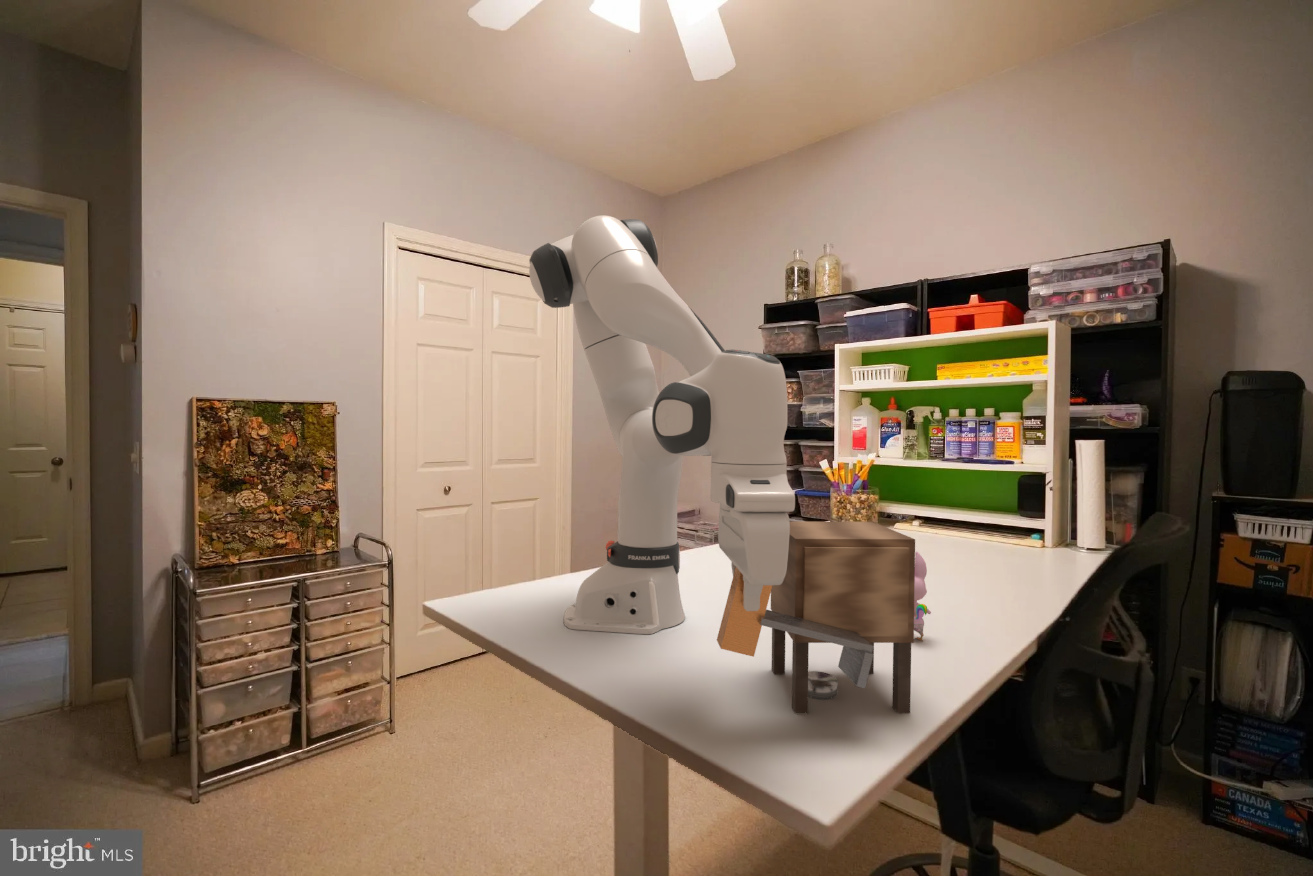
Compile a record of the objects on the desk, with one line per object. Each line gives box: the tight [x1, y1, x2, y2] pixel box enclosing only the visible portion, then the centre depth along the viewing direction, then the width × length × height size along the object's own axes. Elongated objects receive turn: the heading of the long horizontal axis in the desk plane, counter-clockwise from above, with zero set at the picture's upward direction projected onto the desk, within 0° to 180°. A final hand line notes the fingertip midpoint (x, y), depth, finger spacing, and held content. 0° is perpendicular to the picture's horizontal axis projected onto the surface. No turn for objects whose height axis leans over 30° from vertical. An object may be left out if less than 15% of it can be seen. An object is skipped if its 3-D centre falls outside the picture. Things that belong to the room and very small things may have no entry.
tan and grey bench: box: [716, 567, 875, 689], centre depth 72 cm, size 17×6×11 cm, turn 93°
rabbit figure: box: [914, 551, 932, 642], centre depth 101 cm, size 6×6×15 cm
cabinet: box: [770, 520, 916, 714], centre depth 82 cm, size 15×15×22 cm
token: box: [808, 670, 839, 701], centre depth 82 cm, size 5×5×2 cm
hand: (746, 603), depth 71 cm, fingers closed on tan and grey bench, 3 cm apart
